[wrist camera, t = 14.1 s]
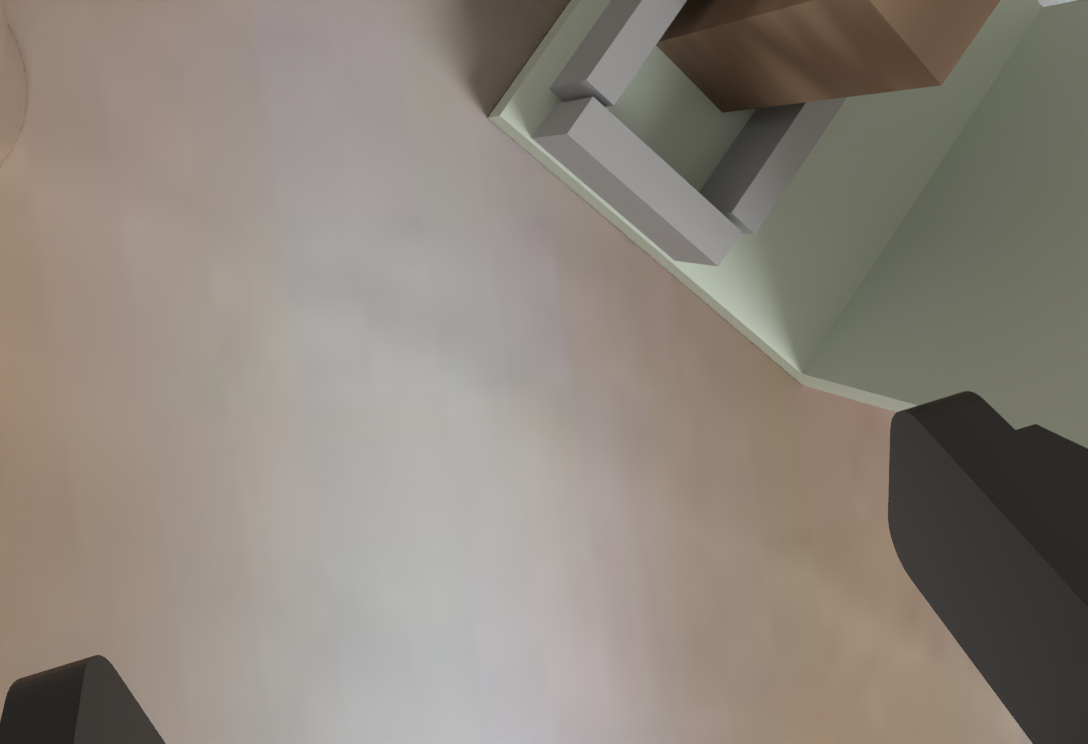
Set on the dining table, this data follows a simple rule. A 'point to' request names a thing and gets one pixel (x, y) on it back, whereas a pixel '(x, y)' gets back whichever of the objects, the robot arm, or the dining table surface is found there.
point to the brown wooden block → (818, 47)
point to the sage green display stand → (849, 205)
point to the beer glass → (10, 88)
